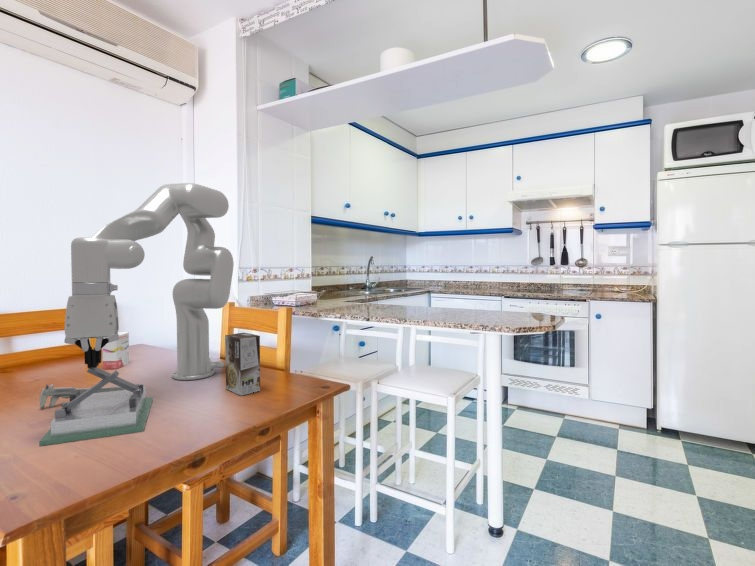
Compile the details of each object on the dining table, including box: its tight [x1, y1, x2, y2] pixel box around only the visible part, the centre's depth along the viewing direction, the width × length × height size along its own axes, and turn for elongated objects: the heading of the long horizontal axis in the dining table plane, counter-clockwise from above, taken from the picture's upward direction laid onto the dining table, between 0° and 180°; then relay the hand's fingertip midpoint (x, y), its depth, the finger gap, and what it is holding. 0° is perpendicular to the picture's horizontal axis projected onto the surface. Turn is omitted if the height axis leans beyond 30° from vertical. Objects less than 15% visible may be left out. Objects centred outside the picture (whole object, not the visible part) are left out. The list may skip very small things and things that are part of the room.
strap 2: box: [86, 366, 142, 392], centre depth 99 cm, size 13×3×1 cm
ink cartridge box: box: [102, 331, 130, 370], centre depth 144 cm, size 9×5×15 cm, turn 6°
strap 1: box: [60, 370, 120, 412], centre depth 89 cm, size 13×3×1 cm
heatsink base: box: [38, 383, 154, 447], centre depth 94 cm, size 18×22×6 cm
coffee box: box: [224, 332, 261, 397], centre depth 117 cm, size 9×6×16 cm
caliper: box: [39, 383, 126, 410], centre depth 109 cm, size 20×1×6 cm, turn 144°
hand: (93, 366), depth 97 cm, fingers closed
